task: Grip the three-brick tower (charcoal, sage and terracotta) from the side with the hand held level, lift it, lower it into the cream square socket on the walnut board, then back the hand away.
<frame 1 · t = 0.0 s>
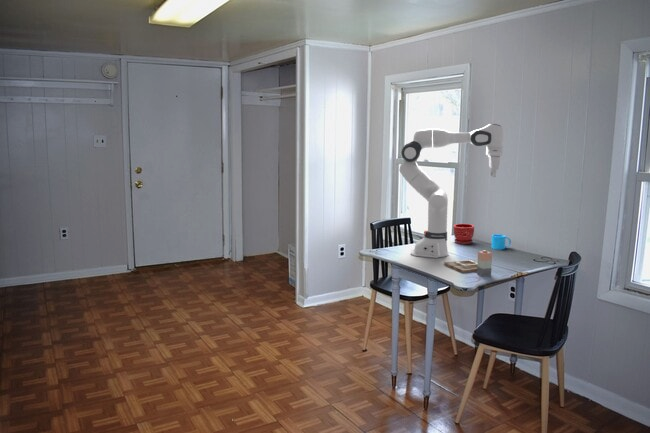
hand: (493, 176, 300), 48 cm above the table, tool pointing down, fingers open, 8 cm apart
socket board: (467, 267, 285), on the table
mug: (501, 248, 330), on the table
plant pot: (463, 243, 346), on the table
brick tower: (483, 274, 271), on the table
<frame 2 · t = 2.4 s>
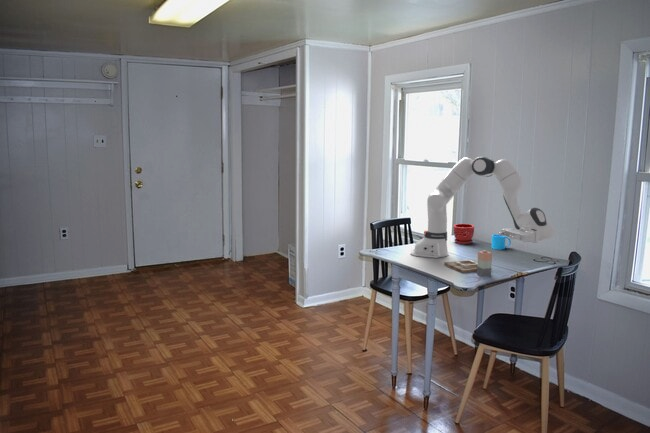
hand: (505, 235, 272), 20 cm above the table, tool horizontal, fingers open, 8 cm apart
nothing on the table moved.
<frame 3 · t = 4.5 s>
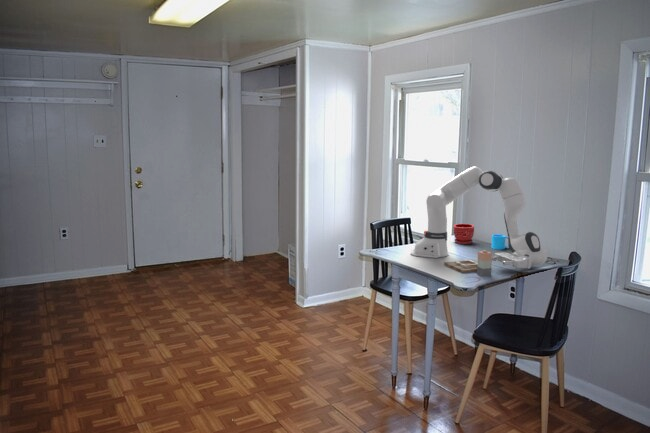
hand: (498, 261, 273), 6 cm above the table, tool horizontal, fingers open, 8 cm apart
nothing on the table moved.
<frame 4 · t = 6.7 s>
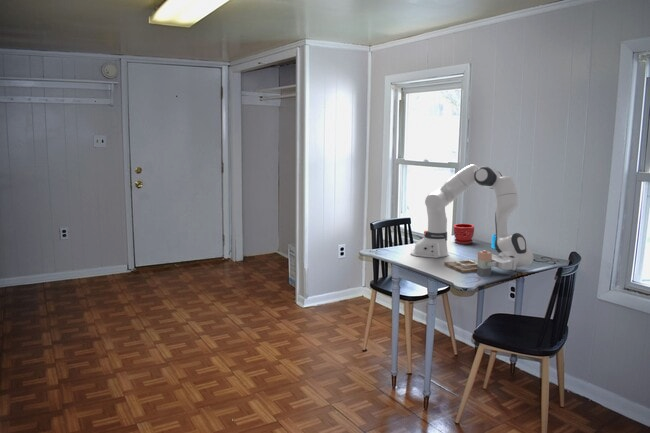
hand: (483, 262, 270), 7 cm above the table, tool horizontal, fingers closed on brick tower, 5 cm apart
brick tower: (483, 274, 271), on the table, touching gripper
everything else where it was.
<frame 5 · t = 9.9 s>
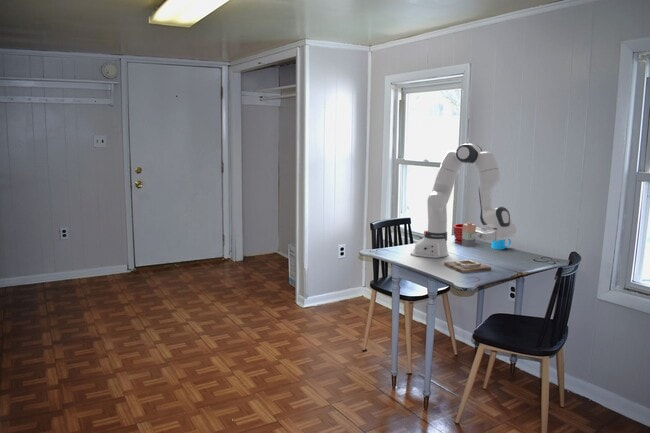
hand: (467, 234, 281), 19 cm above the table, tool horizontal, fingers closed on brick tower, 5 cm apart
brick tower: (468, 245, 282), point 12 cm above the table, touching gripper
everything else where it was.
when the fingers open (9 cm above the table, at t = 12.9 s): brick tower stays where it is, resting on socket board.
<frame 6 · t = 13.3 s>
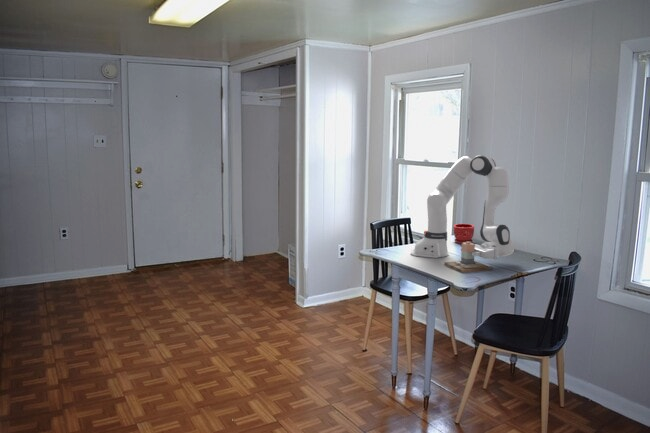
hand: (466, 252, 283), 9 cm above the table, tool horizontal, fingers open, 8 cm apart
brick tower: (467, 264, 285), point 1 cm above the table, touching socket board
everything else where it was.
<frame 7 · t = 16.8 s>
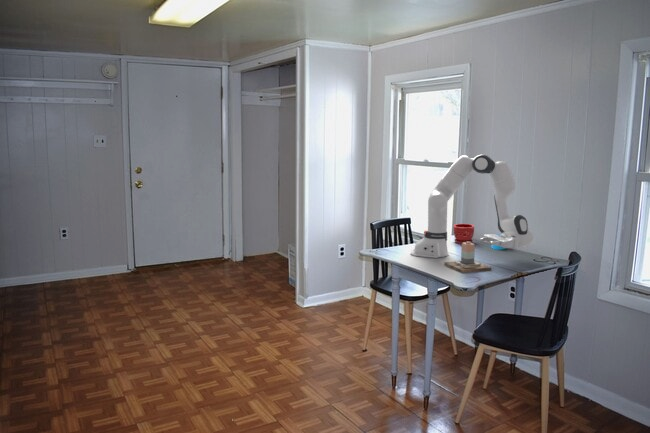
hand: (485, 241, 287), 14 cm above the table, tool horizontal, fingers open, 8 cm apart
nothing on the table moved.
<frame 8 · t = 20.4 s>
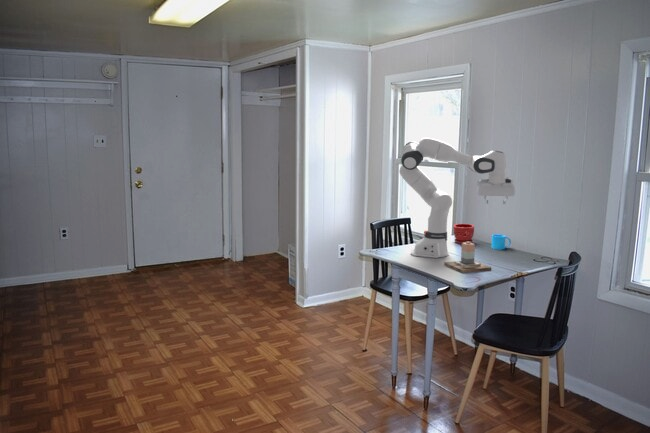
hand: (495, 203, 295), 33 cm above the table, tool pointing down, fingers open, 8 cm apart
nothing on the table moved.
at the end: brick tower 0.0 cm off-centre on the socket board, point 1.5 cm above the socket board's base; brick tower tilted 0°; the gripper is holding nothing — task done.
